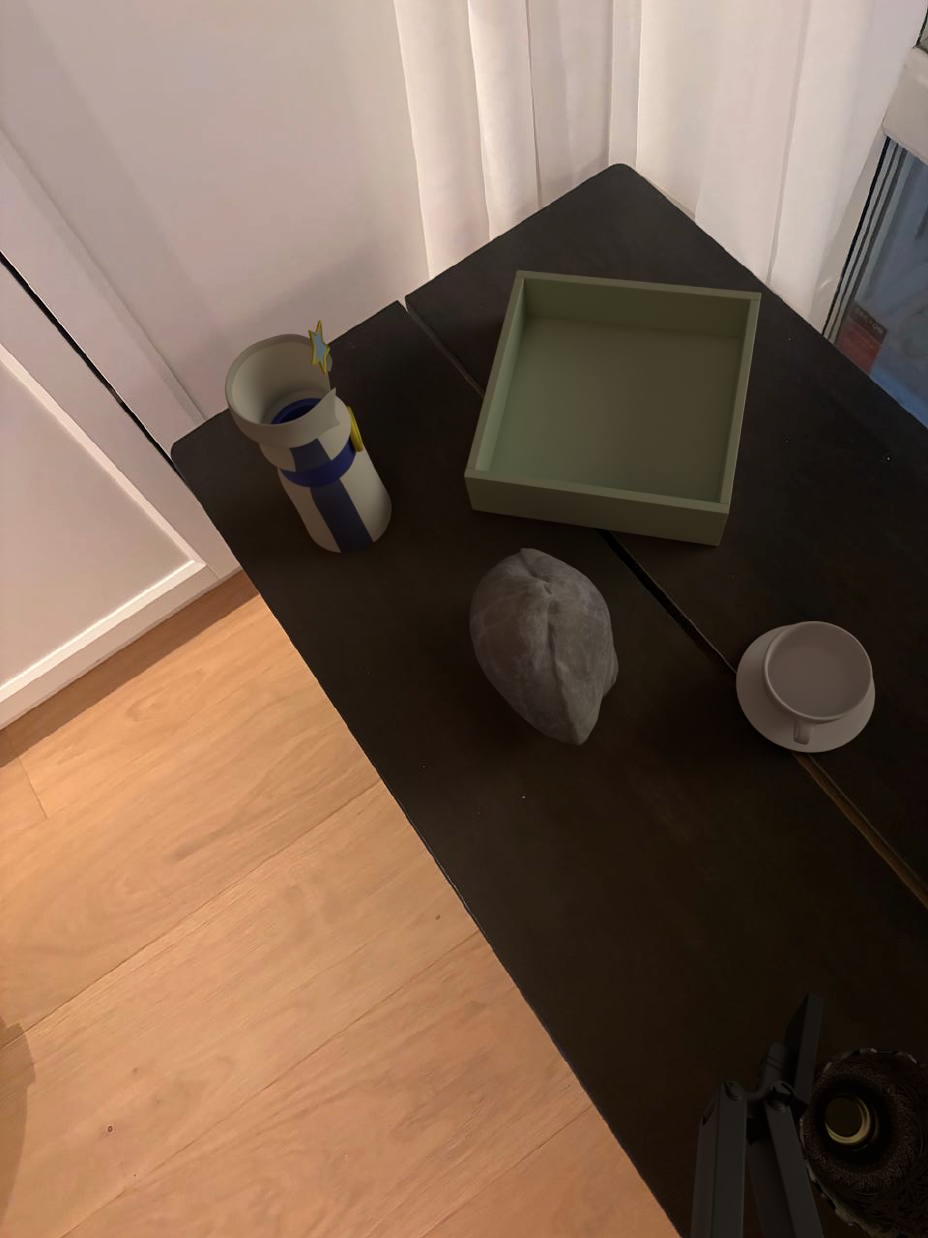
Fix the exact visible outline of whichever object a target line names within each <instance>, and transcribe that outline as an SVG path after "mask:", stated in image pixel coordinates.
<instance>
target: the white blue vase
mask: <svg viewBox="0 0 928 1238" xmlns="http://www.w3.org/2000/svg"><path fill="white" fill-rule="evenodd" d="M315 328H316V329H315V331H313V330H311V329H308V331H307V332H308V336H309V337H308V336H305V335H302V334H296V333H284V334H277V335H275V336H274V335H273V336H271V337H268V338H265V339H262V340H259V341H257V342H255V343H253V344H251V345H249V346H248V347H246V348H245V349H244V350H242V351H241V352H240V353H239V354H238V356H237V357H236V358H235V359H234V360H233V362H232V364H231V365H230V367H229V369H228V371H227V374H226V378H225V384H224V394H225V399H226V404H227V407H228V410H229V412H230V415H231V417H232V419H233V421H234V423H235V424H236V426H237V427H238V429H239V430H240V432H242V433H243V434H244V435H245V436H246V437H248V438H249V439H250V440H252V441H254V442H256V443H258V445H259V448H260V451H261V452H262V454H263V456H264V457H265V458H266V460H267V461H268V462H269V463H271V464H272V465H273V466H275V467H276V469H277V475H278V477H279V480H280V482H281V485H282V487H283V489H284V491H285V492H286V494H287V495H288V497H289V499H290V501H291V502H292V504H293V506H294V507H295V509H296V510H297V512H298V514H299V516H300V518H301V521H302V522H303V524H304V526H305V528H306V530H307V532H308V534H309V535H310V537H311V539H312V540H313V541H314V542H315V543H316V544H317V545H318V546H319V547H321V548H323V549H324V550H327V551H330V552H334V553H340V554H346V553H347V554H348V553H354V552H357V551H361V550H364V549H365V548H368V547H369V546H371V545H372V544H374V543H375V542H376V541H377V540H379V539H380V538H381V536H382V535H383V534H384V533H385V531H386V530H387V528H388V526H389V524H390V521H391V519H392V511H393V510H392V509H393V507H392V500H391V497H390V494H389V493H388V491H387V489H386V487H385V485H384V483H383V482H382V480H381V478H380V476H379V474H378V472H377V470H376V468H375V467H374V464H373V462H372V460H371V458H370V455H369V453H368V451H367V449H366V447H365V446H364V443H363V439H362V436H361V433H360V430H359V427H358V424H357V421H356V418H355V415H354V412H353V411H352V408H351V407H350V406H348V405H346V404H345V403H344V402H343V401H342V400H341V399H340V398H339V397H338V396H337V395H336V390H337V388H336V387H333V388H332V389H331V385H330V379H329V377H330V376H329V372H331V369H332V366H333V358H332V357H331V355H330V353H329V352H330V350H331V348H330V347H329V345H328V344H327V343H326V342H325V340H324V331H323V323H322V320H321V319H320V320H318V321H317V325H316V327H315Z"/></svg>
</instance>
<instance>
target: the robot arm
mask: <svg viewBox="0 0 928 1238" xmlns="http://www.w3.org/2000/svg"><path fill="white" fill-rule="evenodd" d="M824 1001H825V999H823V998H822V997H820V996H818V995H816V994H814V993H812V992H810V991H808V992H807V994H806V995H805V997H804V999H803V1000H802V1002H801V1003H800V1004H799V1006H798V1008H797V1009H796V1011H795V1012H794V1014H793V1016H792V1018H791V1019H790V1021H789V1022H788V1024H787V1026H786V1028H785V1034H784V1040H783V1044H782V1043H780V1042H778V1041H777V1040H774V1041H773V1042H772V1043H771V1044H770V1045H769V1046H768V1047H767V1049H766V1050H765V1053H764V1054H763V1055H762V1057H761V1059H760V1061H759V1062H758V1064H757V1065H756V1070H755V1076H754V1081H753V1084H752V1090H751V1092H749V1091H745V1089H744V1087H742V1085H740V1083H738V1082H736V1081H735V1080H732V1079H724V1080H723V1081H721V1082H720V1083H719V1085H718V1087H717V1089H716V1090H715V1092H714V1094H713V1095H712V1097H711V1099H710V1101H709V1102H708V1104H707V1105H706V1107H705V1109H704V1110H703V1112H702V1114H701V1115H700V1118H699V1125H698V1139H697V1150H696V1163H695V1173H694V1174H695V1175H694V1185H693V1186H694V1188H693V1198H692V1211H691V1224H690V1235H689V1238H744V1212H745V1211H744V1210H745V1185H746V1184H745V1181H746V1179H745V1178H746V1160H747V1166H748V1171H749V1175H750V1180H751V1185H752V1189H753V1195H754V1199H755V1203H756V1204H755V1205H756V1208H757V1213H758V1219H759V1223H760V1228H761V1231H762V1232H761V1233H762V1237H763V1238H825V1235H824V1232H823V1227H822V1223H821V1221H820V1217H819V1212H818V1210H817V1209H818V1208H817V1206H816V1202H815V1197H814V1194H813V1190H812V1186H811V1181H810V1178H809V1176H808V1173H807V1170H806V1167H805V1163H804V1159H803V1155H802V1151H801V1147H800V1144H799V1140H798V1136H797V1132H796V1128H795V1126H796V1124H797V1123H798V1121H799V1120H800V1118H801V1117H802V1116H803V1114H804V1113H805V1111H806V1110H807V1108H808V1107H809V1105H810V1098H811V1091H812V1084H813V1076H814V1069H815V1065H816V1061H817V1053H818V1047H819V1039H820V1031H821V1024H822V1023H821V1022H822V1017H823V1010H824Z"/></svg>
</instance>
